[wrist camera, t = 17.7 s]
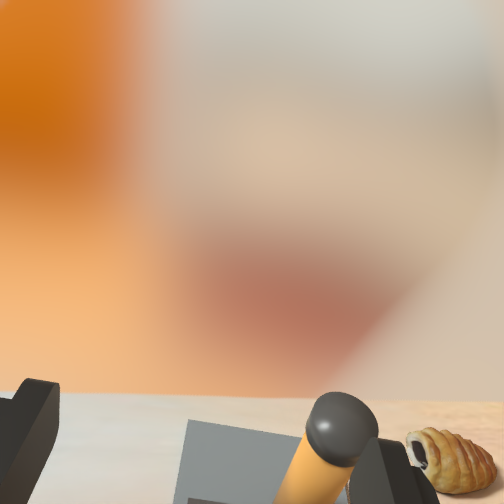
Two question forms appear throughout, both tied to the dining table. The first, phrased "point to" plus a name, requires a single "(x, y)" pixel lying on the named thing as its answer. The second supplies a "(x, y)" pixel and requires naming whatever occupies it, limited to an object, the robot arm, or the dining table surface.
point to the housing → (202, 501)
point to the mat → (234, 464)
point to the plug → (328, 450)
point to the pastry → (450, 461)
